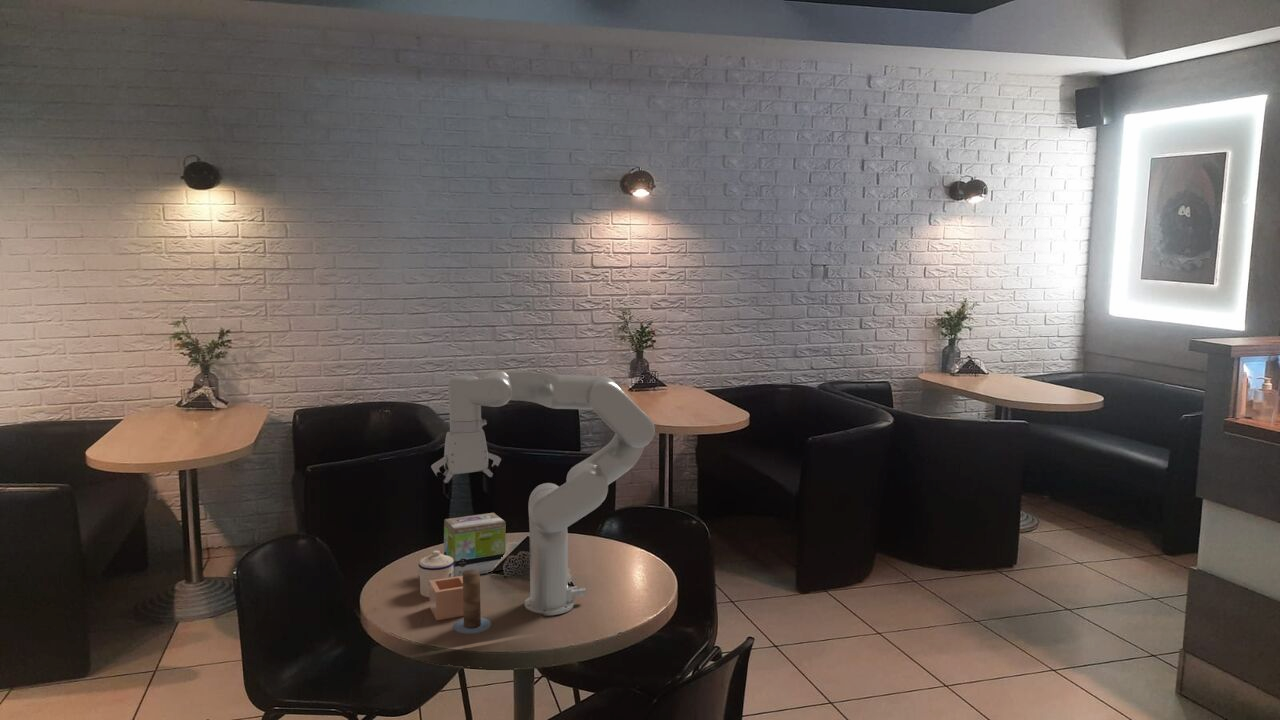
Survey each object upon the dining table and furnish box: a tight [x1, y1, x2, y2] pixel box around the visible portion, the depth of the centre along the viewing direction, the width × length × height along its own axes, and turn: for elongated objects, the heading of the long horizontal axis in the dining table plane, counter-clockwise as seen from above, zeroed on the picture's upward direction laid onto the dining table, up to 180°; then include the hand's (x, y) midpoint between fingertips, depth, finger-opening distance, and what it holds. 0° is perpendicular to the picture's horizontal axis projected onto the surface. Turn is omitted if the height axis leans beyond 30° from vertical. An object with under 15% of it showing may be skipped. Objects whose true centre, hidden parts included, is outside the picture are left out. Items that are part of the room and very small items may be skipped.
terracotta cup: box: [429, 576, 464, 621], centre depth 217 cm, size 8×8×8 cm
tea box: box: [443, 512, 507, 577], centre depth 247 cm, size 15×10×15 cm, turn 120°
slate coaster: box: [452, 617, 492, 634], centre depth 209 cm, size 9×9×1 cm
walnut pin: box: [463, 570, 482, 629], centre depth 208 cm, size 4×4×13 cm
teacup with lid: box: [418, 550, 454, 598], centre depth 231 cm, size 12×9×12 cm
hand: (467, 494), depth 215 cm, fingers open, 9 cm apart
